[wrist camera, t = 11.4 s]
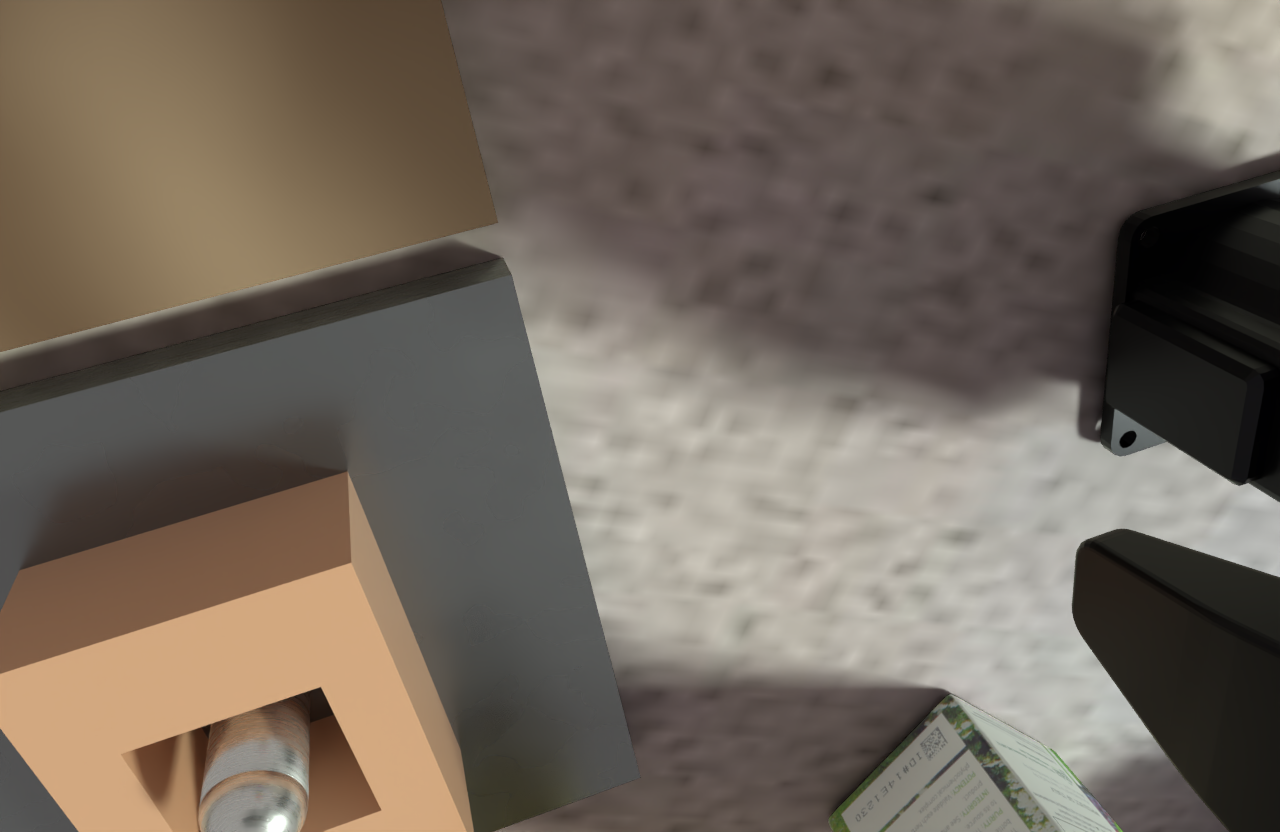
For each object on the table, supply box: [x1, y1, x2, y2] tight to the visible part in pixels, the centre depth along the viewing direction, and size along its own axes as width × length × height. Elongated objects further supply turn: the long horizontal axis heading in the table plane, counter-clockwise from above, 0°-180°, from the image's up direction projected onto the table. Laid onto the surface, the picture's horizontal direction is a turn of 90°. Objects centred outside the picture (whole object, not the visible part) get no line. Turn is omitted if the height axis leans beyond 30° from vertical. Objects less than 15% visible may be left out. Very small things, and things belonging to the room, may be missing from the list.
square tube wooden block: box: [0, 471, 474, 832], centre depth 19 cm, size 6×8×3 cm
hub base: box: [0, 258, 641, 832], centre depth 18 cm, size 14×14×5 cm
